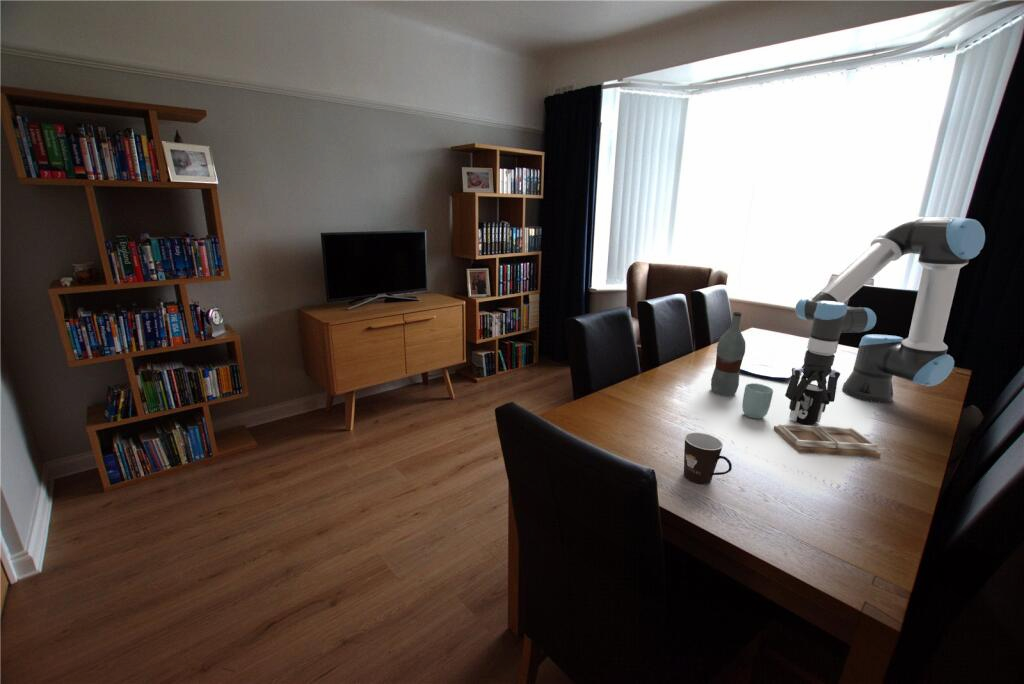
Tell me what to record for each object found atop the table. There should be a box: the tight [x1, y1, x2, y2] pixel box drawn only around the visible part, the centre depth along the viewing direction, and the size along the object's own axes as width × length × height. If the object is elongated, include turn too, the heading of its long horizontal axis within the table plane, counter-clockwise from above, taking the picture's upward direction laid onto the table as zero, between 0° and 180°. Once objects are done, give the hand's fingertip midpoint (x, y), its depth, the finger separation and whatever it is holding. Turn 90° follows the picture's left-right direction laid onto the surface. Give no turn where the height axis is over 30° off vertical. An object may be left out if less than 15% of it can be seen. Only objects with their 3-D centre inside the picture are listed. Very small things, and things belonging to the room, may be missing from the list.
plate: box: [739, 356, 792, 381], centre depth 192 cm, size 20×20×3 cm
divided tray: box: [773, 423, 882, 458], centre depth 133 cm, size 22×14×3 cm, turn 87°
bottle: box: [710, 311, 746, 397], centre depth 164 cm, size 9×9×30 cm
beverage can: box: [795, 383, 823, 426], centre depth 145 cm, size 7×7×12 cm
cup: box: [741, 382, 774, 420], centre depth 148 cm, size 8×8×10 cm
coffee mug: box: [683, 432, 733, 485], centre depth 110 cm, size 12×9×10 cm
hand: (804, 420), depth 147 cm, fingers closed on beverage can, 7 cm apart
